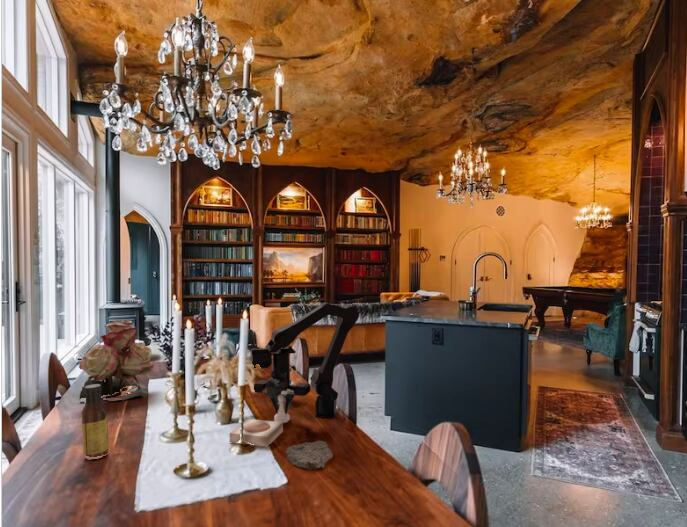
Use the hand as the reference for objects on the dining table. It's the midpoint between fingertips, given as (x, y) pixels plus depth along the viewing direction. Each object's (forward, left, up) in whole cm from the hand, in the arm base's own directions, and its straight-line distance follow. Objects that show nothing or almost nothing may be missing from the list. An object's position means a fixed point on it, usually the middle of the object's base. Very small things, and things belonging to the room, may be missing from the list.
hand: (281, 413), depth 154 cm
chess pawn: (0, 0, -3) cm, 3 cm away
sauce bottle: (+40, +38, -3) cm, 55 cm away
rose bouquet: (+76, -13, -3) cm, 77 cm away
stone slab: (-19, +24, -3) cm, 31 cm away
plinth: (+2, +15, -2) cm, 15 cm away
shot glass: (+7, -20, -3) cm, 21 cm away
